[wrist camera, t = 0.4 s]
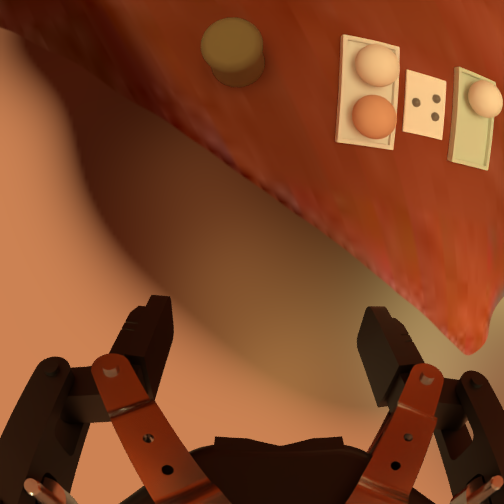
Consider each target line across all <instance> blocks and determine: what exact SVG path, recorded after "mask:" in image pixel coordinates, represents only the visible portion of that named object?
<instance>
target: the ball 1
mask: <svg viewBox="0 0 504 504" xmlns="http://www.w3.org/2000/svg"><path fill="white" fill-rule="evenodd" d="M355 68H356V71H357V73H358V75H359V76H360V78H361V79H362V80H363V81H365V82H366V83H368V84H369V85H372V86H375V87H385V86H388V85H390V84H392V83H393V82H394V81H395V80H396V79H397V77H398V75H399V72H400V65H399V61H398V58H397V57H396V55H395V54H394V53H393V52H392V51H391V50H390V49H389V48H387V47H385V46H383V45H379V44H371V45H367V46H365V47H363V48H362V49H361V50H360V51H359V52H358V53H357V55H356V58H355Z"/></svg>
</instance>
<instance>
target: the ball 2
mask: <svg viewBox="0 0 504 504" xmlns="http://www.w3.org/2000/svg"><path fill="white" fill-rule="evenodd" d="M352 120H353V123H354V125H355V127H356V129H357V130H358V131H359V132H360V133H361V134H362V135H364V136H365V137H368V138H371V139H382V138H385V137H387V136H388V135H390V134H391V133H392V132H393V130H394V129H395V126H396V123H397V115H396V111H395V109H394V107H393V105H392V104H391V103H390V102H389V101H388V100H387V99H385V98H384V97H381V96H378V95H367V96H364V97H362V98H360V99H359V100H358V101H357V102H356V103H355V105H354V107H353V110H352Z"/></svg>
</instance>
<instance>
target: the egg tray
mask: <svg viewBox="0 0 504 504" xmlns="http://www.w3.org/2000/svg"><path fill="white" fill-rule="evenodd" d="M371 44H379V45H383V46H385V47H387V48H389V49H390V50H391V51H392V52H393V53H394V54H395V55H396V57H397V58H398V61H399V54H400V47H398V46H394V45H390V44H386V43H382V42H378V41H373V40H369V39H364V38H360V37H355V36H349V35H344V34H343V35H342V36H341V44H340V71H339V91H338V107H337V121H336V134H335V142H339V143H348V144H355V145H363V146H370V147H376V148H383V149H389V150H393V147H394V137H395V129H394V130H393V132H392V133H391V134H390V135H388V136H387V137H385V138H382V139H371V138H368V137H365V136H364V135H362V134H361V133H360V132H359V131H358V130H357V129H356V127H355V125H354V123H353V120H352V110H353V107H354V105H355V103H356V102H357V101H358V100H359V99H360V98H362V97H364V96H367V95H378V96H381V97H384V98H385V99H387V100H388V101H389V102H390V103H391V104H392V105H393V107H394V109H395V111H396V115H397V102H398V85H399V75H398V77H397V79H396V80H395V81H394V82H393V83H392V84H390V85H388V86H385V87H375V86H372V85H369V84H368V83H366V82H365V81H363V80H362V79H361V78H360V76H359V75H358V73H357V71H356V68H355V58H356V55H357V53H358V52H359V51H360V50H361V49H362V48H363V47H365V46H367V45H371ZM395 127H396V126H395Z"/></svg>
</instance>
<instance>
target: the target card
mask: <svg viewBox="0 0 504 504" xmlns="http://www.w3.org/2000/svg"><path fill="white" fill-rule="evenodd" d="M445 97H446V81H443V80H440V79H437V78H434V77H431V76H428V75H424V74H421V73H418V72H414V71H411V70H406V81H405V99H404V113H403V125H402V131H404V132H409V133H414V134H418V135H423V136H427V137H432V138H436V139H440V140H442V134H443V124H444V112H445Z"/></svg>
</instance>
